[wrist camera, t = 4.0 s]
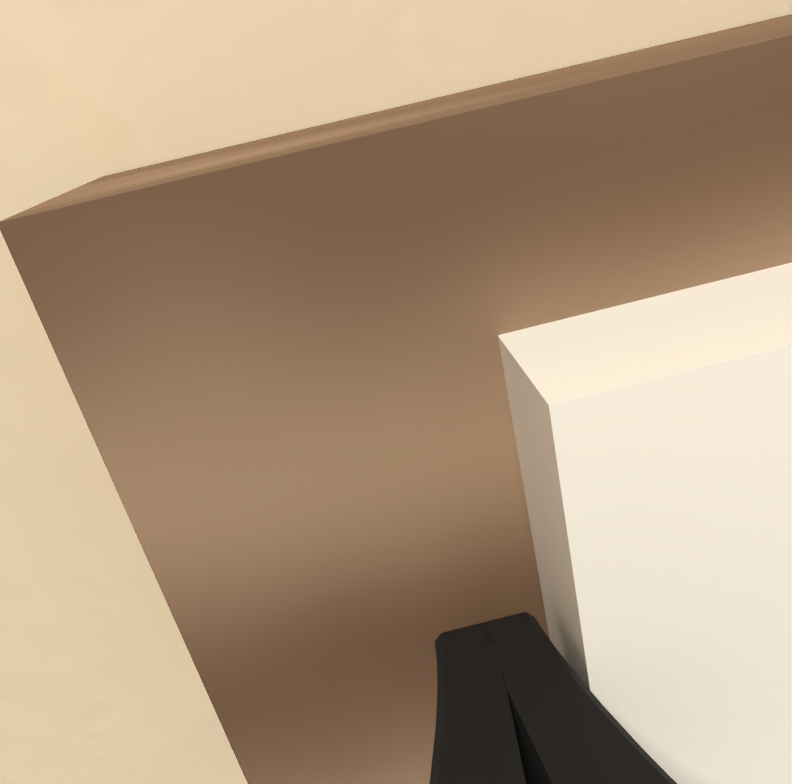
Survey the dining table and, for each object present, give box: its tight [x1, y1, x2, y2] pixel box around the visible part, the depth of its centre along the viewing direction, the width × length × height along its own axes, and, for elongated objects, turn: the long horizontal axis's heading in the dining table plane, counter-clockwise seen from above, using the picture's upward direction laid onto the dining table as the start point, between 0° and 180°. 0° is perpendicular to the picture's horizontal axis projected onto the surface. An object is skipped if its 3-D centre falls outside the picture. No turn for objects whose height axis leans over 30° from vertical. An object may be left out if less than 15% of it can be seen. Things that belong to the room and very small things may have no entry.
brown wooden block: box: [0, 15, 792, 784], centre depth 12 cm, size 14×11×4 cm
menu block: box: [498, 262, 792, 784], centre depth 9 cm, size 9×6×2 cm, turn 13°
